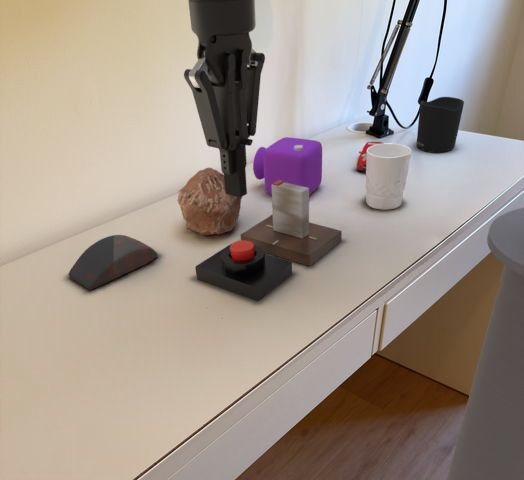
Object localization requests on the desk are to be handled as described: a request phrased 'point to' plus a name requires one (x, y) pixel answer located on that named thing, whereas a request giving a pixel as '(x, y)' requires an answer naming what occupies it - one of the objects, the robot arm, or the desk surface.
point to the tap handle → (290, 209)
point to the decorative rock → (208, 203)
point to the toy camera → (290, 163)
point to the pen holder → (439, 124)
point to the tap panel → (293, 241)
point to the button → (242, 250)
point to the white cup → (386, 175)
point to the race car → (364, 156)
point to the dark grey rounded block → (110, 260)
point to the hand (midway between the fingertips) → (236, 193)
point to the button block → (245, 272)
